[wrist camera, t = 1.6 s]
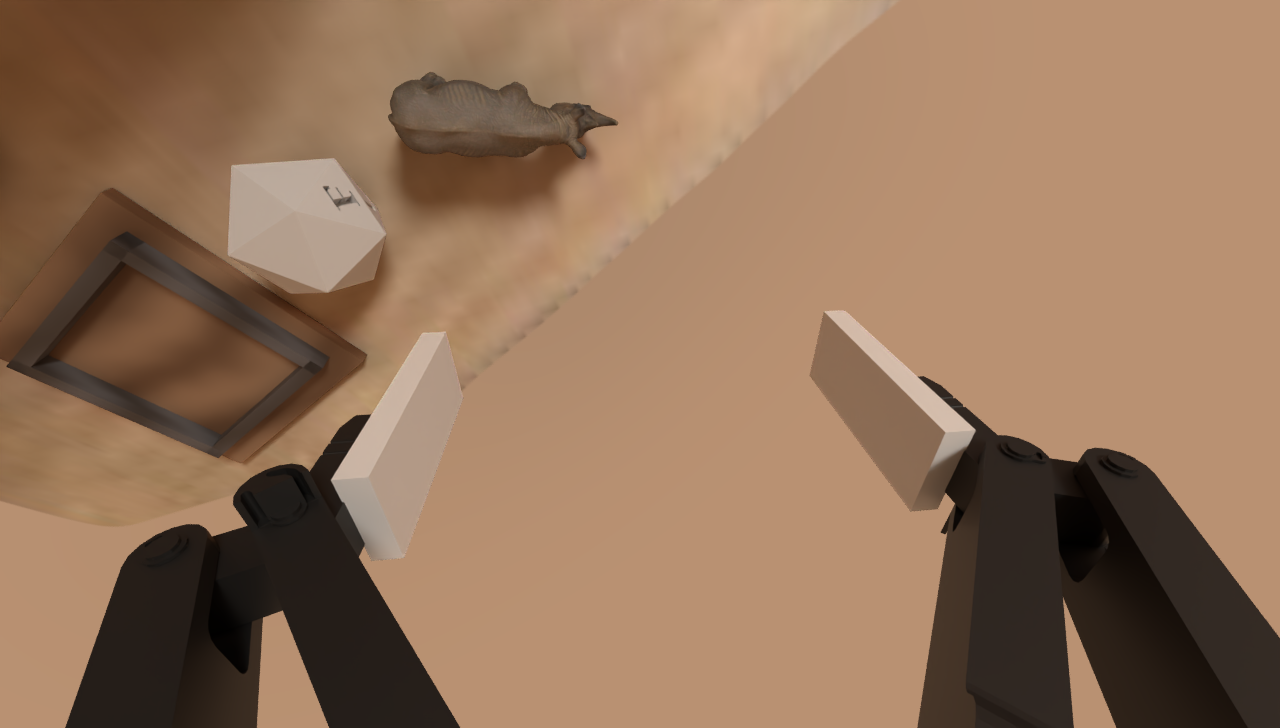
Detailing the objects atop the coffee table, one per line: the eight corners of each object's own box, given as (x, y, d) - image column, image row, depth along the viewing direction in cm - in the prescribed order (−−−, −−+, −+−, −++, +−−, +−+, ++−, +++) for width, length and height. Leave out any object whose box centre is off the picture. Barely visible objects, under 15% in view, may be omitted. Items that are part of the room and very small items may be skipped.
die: (412, 265, 37) (413, 243, 28) (301, 321, 34) (265, 316, 25) (344, 165, 34) (323, 108, 26) (219, 217, 31) (148, 171, 23)
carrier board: (-9, 341, 35) (-42, 361, 33) (112, 187, 30) (81, 200, 28) (246, 455, 45) (232, 476, 43) (366, 354, 40) (357, 372, 38)
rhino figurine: (611, 150, 33) (621, 175, 29) (405, 139, 31) (379, 164, 26) (614, 84, 31) (626, 99, 26) (390, 66, 28) (359, 79, 24)
